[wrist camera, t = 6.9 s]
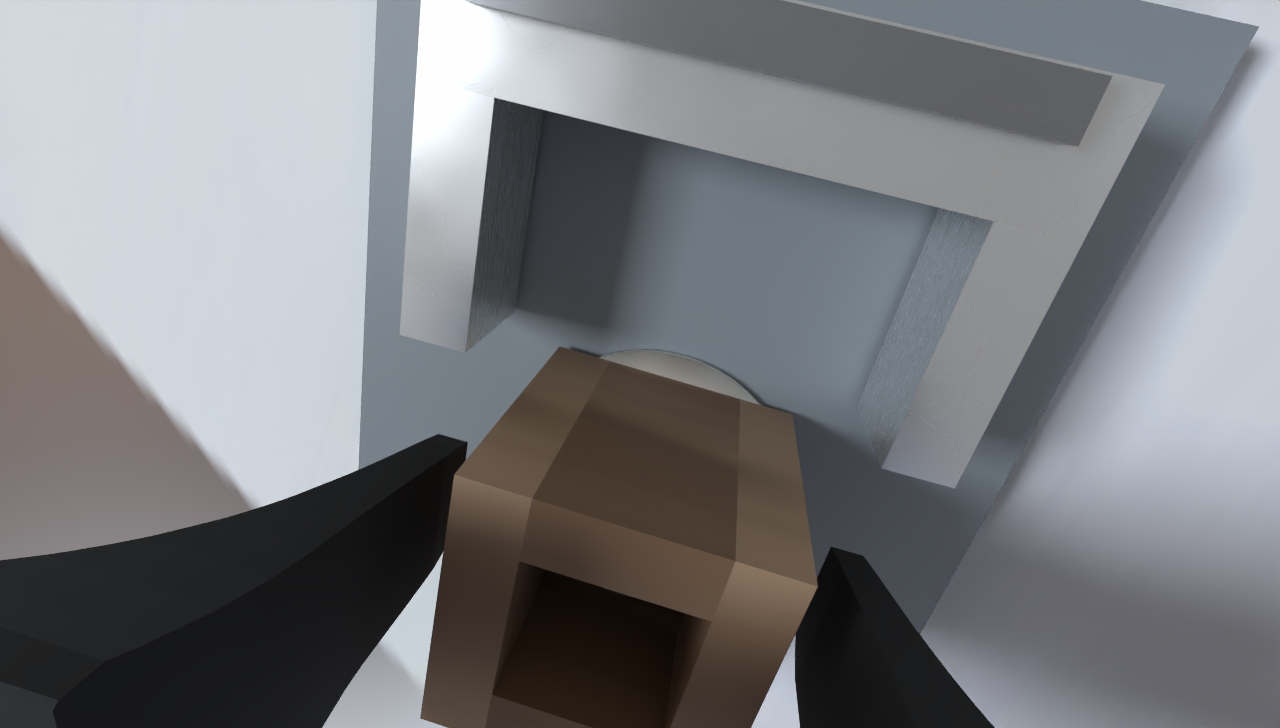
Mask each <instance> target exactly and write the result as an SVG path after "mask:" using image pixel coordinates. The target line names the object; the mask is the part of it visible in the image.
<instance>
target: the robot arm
mask: <svg viewBox="0 0 1280 728" xmlns="http://www.w3.org/2000/svg"><path fill="white" fill-rule="evenodd" d="M467 445H468V442H465V441H462V440H458V439H455V438H451V437H448V436H445V435H441V434H437V435H435V436H432V437H430V438H427V439H425V440H423V441H421V442H419V443H416V444H414V445H412V446H410V447H408V448H406V449H403V450H401V451H399V452H397V453H395V454H393V455H391V456H388V457H386V458H384V459H382V460H379V461H377V462H375V463H373V464H371V465H368V466H366V467H364V468H362V469H359V470H357V471H355V472H353V473H350V474H348V475H346V476H343V477H341V478H338V479H336V480H333V481H330V482H328V483H325V484H323V485H320V486H318V487H315V488H313V489H310V490H308V491H305V492H303V493H300V494H298V495H295V496H292V497H289V498H287V499H284V500H281V501H278V502H275V503H272V504H269V505H266V506H263V507H260V508H257V509H253V510H250V511H247V512H244V513H240V514H237V515H234V516H231V517H227V518H223V519H220V520H216V521H212V522H208V523H203V524H199V525H195V526H192V527H188V528H183V529H179V530H175V531H172V532H167V533H163V534H159V535H154V536H150V537H145V538H140V539H135V540H130V541H125V542H120V543H115V544H110V545H104V546H98V547H92V548H86V549H81V550H75V551H68V552H62V553H55V554H49V555H41V556H34V557H26V558H17V559H9V560H1V561H0V728H322V727H323V725H324V723H325V722H326V720H327V718H328V717H329V715H330V714H331V712H332V710H333V708H334V707H335V705H336V704H337V702H338V700H339V699H340V697H341V695H342V694H343V692H344V690H345V689H346V688H347V686H348V685H349V683H350V682H351V680H352V679H353V677H354V676H355V674H356V673H357V671H358V670H359V669H360V667H361V665H362V664H363V663H364V662H365V660H366V659H367V658H368V656H369V655H370V653H371V652H372V651H373V649H374V648H375V647H376V645H377V644H378V643H379V641H380V640H381V639H382V637H383V636H384V635H385V633H386V632H387V631H388V629H389V628H390V627H391V625H392V624H393V623H394V621H395V620H396V619H397V617H398V616H399V615H400V613H401V612H402V611H403V609H404V608H405V607H406V605H407V604H408V603H409V601H410V600H411V599H412V597H413V596H414V594H415V593H416V592H417V590H418V589H419V588H420V586H421V585H422V584H423V582H424V581H425V579H426V578H427V577H428V575H429V574H430V572H431V571H432V570H433V568H434V566H435V565H436V563H437V561H438V560H439V558H440V556H441V554H442V553H443V551H444V544H445V537H446V530H447V523H448V516H449V508H450V501H451V494H452V487H453V480H454V474H455V473H456V472H457V471H458V469H459V468H460V467H461V466H462V464H463V463H464V462H465V461H466V453H467ZM817 585H818V587H817V589H816V592H815V594H814V596H813V598H812V600H811V602H810V604H809V606H808V608H807V611H806V613H805V615H804V617H803V619H802V621H801V623H800V625H799V627H798V629H797V632H796V643H795V682H796V692H797V702H798V711H799V720H800V728H995V727H994V726H993V725H992V724H991V723H990V722H989V721H988V720H987V718H986V717H985V716H984V715H983V714H982V713H981V711H980V710H979V709H978V708H977V707H976V706H975V704H974V703H973V702H972V701H971V700H970V698H969V697H968V696H967V695H966V693H965V692H964V691H963V690H962V689H961V687H960V686H959V685H958V684H957V682H956V681H955V680H954V679H953V677H952V676H951V675H950V674H949V673H948V671H947V670H946V669H945V667H944V666H943V665H942V663H941V662H940V661H939V660H938V658H937V657H936V656H935V654H934V653H933V652H932V650H931V649H930V648H929V646H928V645H927V644H926V642H925V641H924V640H923V638H922V637H921V636H920V634H919V633H918V632H917V630H916V629H915V627H914V626H913V625H912V623H911V622H910V620H909V619H908V618H907V616H906V615H905V613H904V612H903V611H902V609H901V608H900V606H899V605H898V604H897V602H896V601H895V599H894V598H893V596H892V595H891V594H890V592H889V591H888V589H887V588H886V586H885V585H884V584H883V582H882V581H881V579H880V578H879V576H878V575H877V574H876V572H875V571H874V569H873V568H872V567H871V565H870V564H869V563H868V561H867V560H866V559H865V557H864V556H863V555H859V554H856V553H852V552H849V551H845V550H842V549H838V548H835V547H830V550H829V552H828V554H827V556H826V559H825V561H824V563H823V565H822V568H821V570H820V572H819V575H818V577H817Z"/></svg>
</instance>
